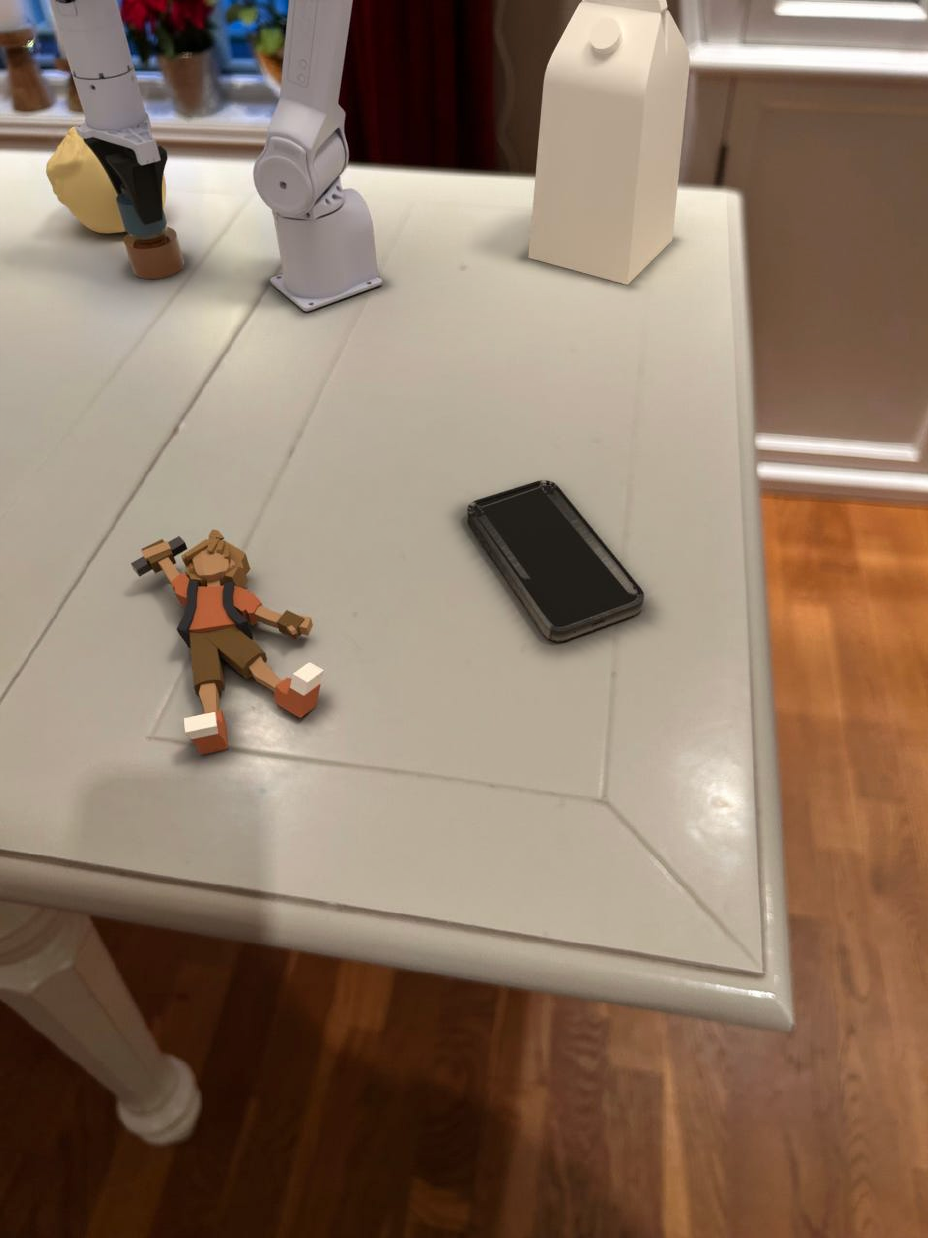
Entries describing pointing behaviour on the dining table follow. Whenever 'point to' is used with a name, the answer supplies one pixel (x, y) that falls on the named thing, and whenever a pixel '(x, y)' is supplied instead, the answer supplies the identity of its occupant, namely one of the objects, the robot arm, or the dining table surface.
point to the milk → (610, 140)
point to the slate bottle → (135, 217)
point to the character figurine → (226, 631)
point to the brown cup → (154, 254)
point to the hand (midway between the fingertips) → (143, 212)
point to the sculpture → (85, 185)
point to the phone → (554, 560)
